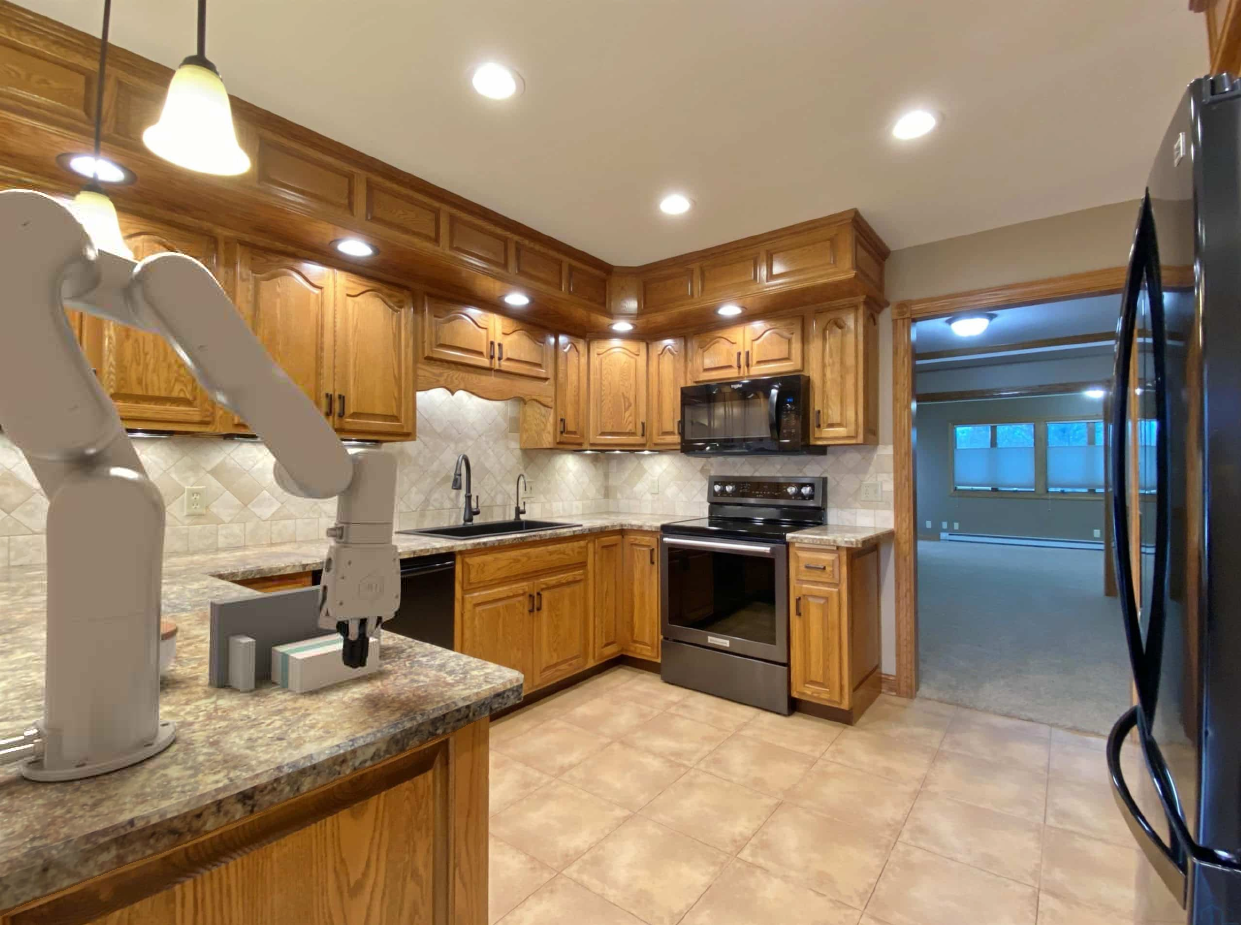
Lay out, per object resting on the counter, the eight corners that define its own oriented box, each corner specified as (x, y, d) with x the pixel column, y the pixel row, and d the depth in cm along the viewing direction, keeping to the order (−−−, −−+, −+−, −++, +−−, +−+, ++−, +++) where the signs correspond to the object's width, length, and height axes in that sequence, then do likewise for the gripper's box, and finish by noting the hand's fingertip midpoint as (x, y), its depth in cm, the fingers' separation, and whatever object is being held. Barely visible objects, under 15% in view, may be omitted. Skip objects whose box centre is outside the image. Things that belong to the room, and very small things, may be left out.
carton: (298, 694, 81) (299, 658, 81) (271, 680, 86) (271, 647, 86) (378, 671, 90) (379, 639, 90) (349, 660, 96) (349, 630, 96)
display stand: (230, 695, 80) (232, 609, 80) (208, 682, 84) (210, 601, 85) (388, 652, 99) (389, 583, 99) (363, 644, 104) (364, 578, 104)
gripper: (324, 539, 73) (313, 684, 72) (425, 535, 86) (416, 660, 84) (297, 534, 78) (286, 671, 77) (396, 532, 90) (387, 650, 89)
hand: (354, 665), depth 81 cm, fingers closed
